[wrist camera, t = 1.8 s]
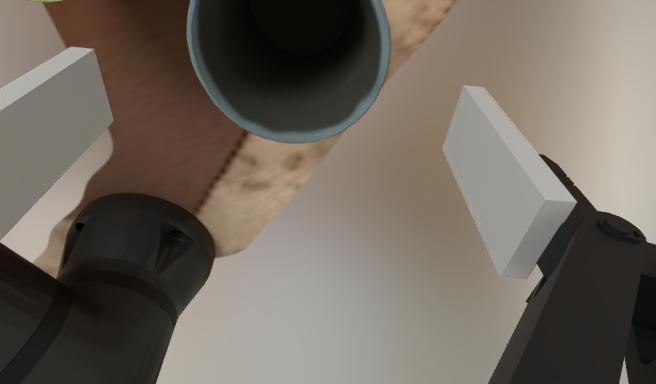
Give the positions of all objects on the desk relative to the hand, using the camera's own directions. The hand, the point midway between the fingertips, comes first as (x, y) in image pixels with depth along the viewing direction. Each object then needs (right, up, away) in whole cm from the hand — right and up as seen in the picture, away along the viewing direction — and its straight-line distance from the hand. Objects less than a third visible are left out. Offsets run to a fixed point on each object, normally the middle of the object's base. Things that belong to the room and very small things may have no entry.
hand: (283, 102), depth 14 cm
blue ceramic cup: (0, +11, +14) cm, 18 cm away
